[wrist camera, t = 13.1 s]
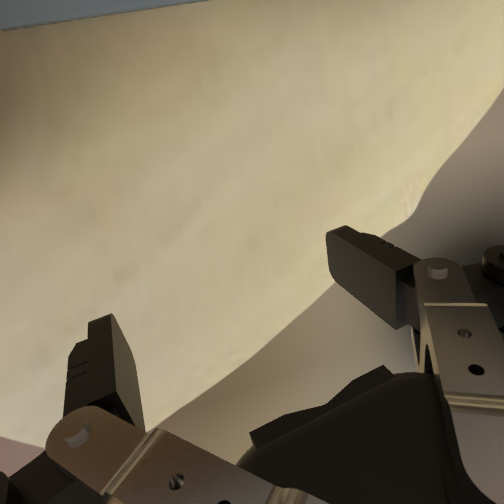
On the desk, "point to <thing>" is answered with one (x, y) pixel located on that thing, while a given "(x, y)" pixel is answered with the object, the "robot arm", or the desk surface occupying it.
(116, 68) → the desk surface
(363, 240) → the robot arm
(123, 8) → the board
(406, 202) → the desk surface
